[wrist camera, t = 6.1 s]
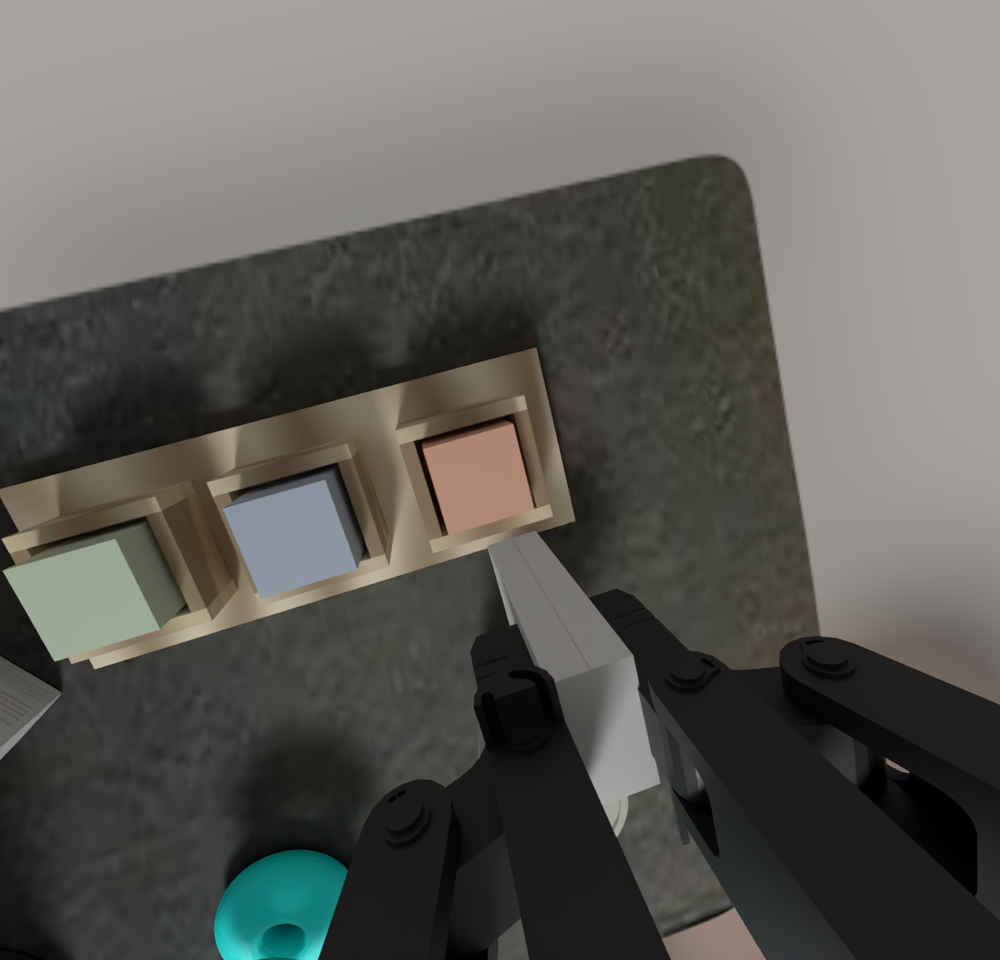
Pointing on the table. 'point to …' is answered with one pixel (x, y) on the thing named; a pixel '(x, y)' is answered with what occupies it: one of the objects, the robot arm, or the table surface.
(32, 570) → the sage button
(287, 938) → the donuts
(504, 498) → the terracotta button
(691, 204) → the table surface
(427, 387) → the button panel
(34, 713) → the supplement box
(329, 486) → the slate button
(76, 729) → the table surface
